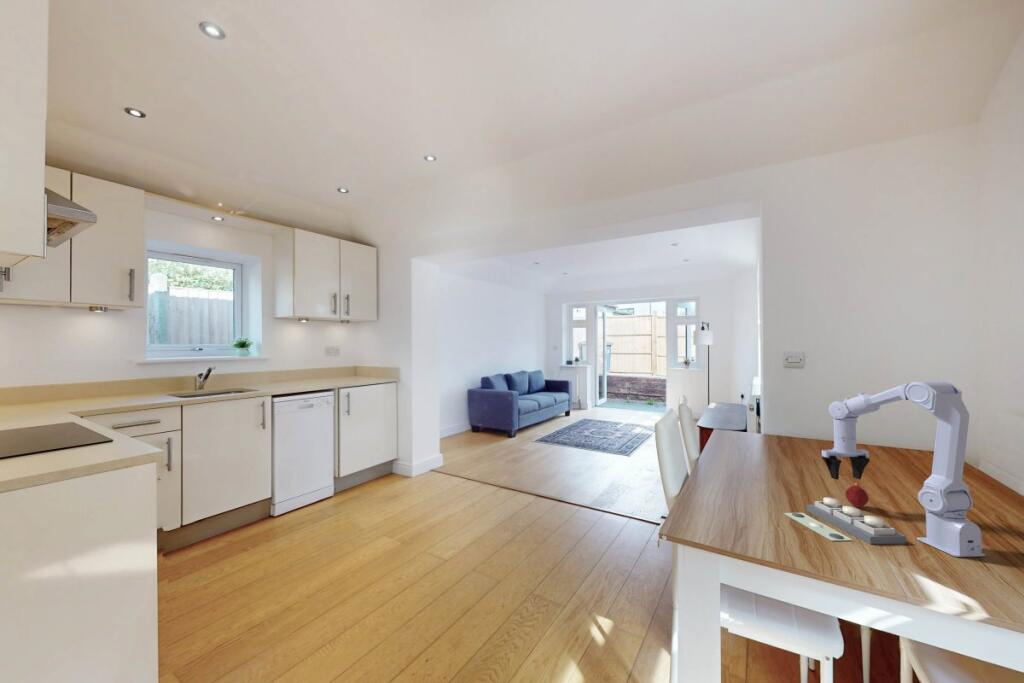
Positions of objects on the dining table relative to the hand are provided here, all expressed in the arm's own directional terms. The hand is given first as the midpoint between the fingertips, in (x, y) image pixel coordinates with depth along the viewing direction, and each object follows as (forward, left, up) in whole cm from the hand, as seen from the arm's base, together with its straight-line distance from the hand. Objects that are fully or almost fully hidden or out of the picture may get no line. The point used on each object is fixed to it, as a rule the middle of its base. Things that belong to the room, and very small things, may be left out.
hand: (845, 478), depth 130 cm
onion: (0, -4, -10) cm, 11 cm away
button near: (-20, +10, -6) cm, 23 cm away
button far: (-6, +10, -6) cm, 13 cm away
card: (-13, +21, -10) cm, 26 cm away
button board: (-13, +10, -10) cm, 19 cm away
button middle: (-13, +10, -7) cm, 17 cm away
